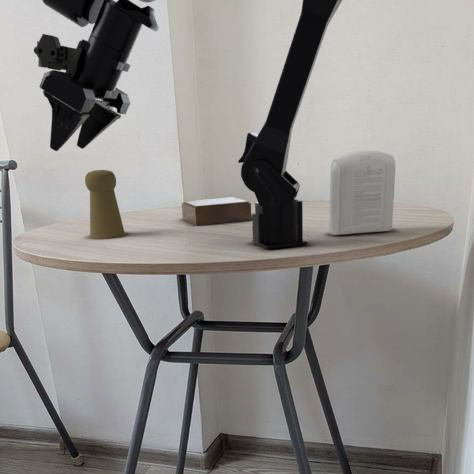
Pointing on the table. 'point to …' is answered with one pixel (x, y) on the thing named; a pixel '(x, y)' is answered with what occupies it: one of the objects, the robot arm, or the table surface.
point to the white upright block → (362, 192)
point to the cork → (103, 205)
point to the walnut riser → (216, 211)
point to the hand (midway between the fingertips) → (67, 148)
